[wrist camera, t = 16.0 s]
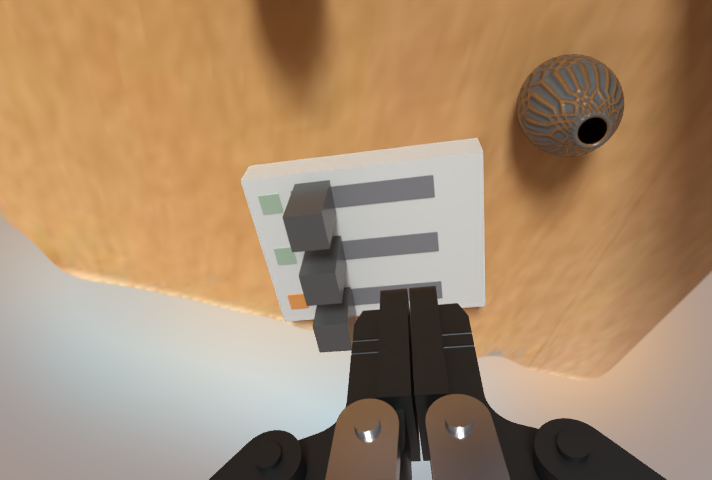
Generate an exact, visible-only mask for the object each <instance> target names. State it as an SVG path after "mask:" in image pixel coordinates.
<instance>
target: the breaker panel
mask: <svg viewBox="0 0 712 480" xmlns="http://www.w3.org/2000/svg"><path fill="white" fill-rule="evenodd" d="M241 184H242V187H243V190H244V193H245V196H246V200H247V203H248V206H249V209H250V212H251V216H252V219H253V222H254V225H255V228H256V232H257V235H258V238H259V241H260V244H261V247H262V251H263V254H264V257H265V260H266V263H267V267H268V270H269V273H270V276H271V279H272V283H273V286H274V289H275V292H276V295H277V299H278V302H279V305H280V308H281V311H282V314H283V318H284V321H285V322H286V321H299V320H312V319H314V317H315V312H316V306H317V305H326V304H338V303H342V298H343V290H344V288H346V287H351V291H352V296H353V301H354V305H355V310H356V316H360V314H361V313H362V311H366V310H378V309H380V291H381V290H391V289H403V288H407V291H408V299H409V307H410V298H409V288H414V287H425V286H436V292H437V300H438V305H440V304H453V303H458V304H459V305H460V307H461V308H468V307H481V306H485V252H484V180H483V150H482V148H481V145H480V143H479V141H478V138H471V139H463V140H455V141H447V142H439V143H430V144H422V145H414V146H406V147H398V148H390V149H382V150H373V151H365V152H357V153H349V154H341V155H333V156H325V157H317V158H308V159H300V160H292V161H284V162H276V163H268V164H260V165H251V166H249V167H248V169H247V170H246V172H245V174H244V176H243V177H242V179H241Z"/></svg>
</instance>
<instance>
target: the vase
mask: <svg viewBox="0 0 712 480" xmlns="http://www.w3.org/2000/svg"><path fill="white" fill-rule="evenodd" d="M623 111H624V95H623V91H622V87H621V85H620V82H619V80H618V78H617V77H616V75H615V74H614V73H613V72H612V70H611V69H610V68H608V67H607V66H606V65H605V64H603V63H602V62H600V61H598V60H596V59H594V58H591V57H588V56H584V55H575V54H572V55H562V56H558V57H555V58H552V59H550V60H548V61H546V62H544V63H542V64H541V65H539V66H538V67H537V68H536V69H535V70H533V71H532V73H531V74H530V75H529V76H528V77H527V79H526V80H525V82H524V83H523V85H522V87H521V90H520V93H519V96H518V101H517V116H518V120H519V123H520V126H521V128H522V130H523V132H524V134H525V135H526V137H527V138H528V139H529V140H530V141H531V142H532V143H533V144H534V145H535V146H537V147H538V148H539V149H541V150H543V151H545V152H547V153H550V154H553V155H557V156H566V157H571V156H579V155H583V154H586V153H589V152H591V151H593V150H595V149H597V148H599V147H600V146H602V145H603V144H604V143H605V142H607V141H608V140H609V139H610V138H611V136H612V135H613V134H614V133H615V131H616V130H617V128H618V126H619V124H620V122H621V119H622V116H623Z"/></svg>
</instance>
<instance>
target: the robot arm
mask: <svg viewBox="0 0 712 480" xmlns="http://www.w3.org/2000/svg"><path fill="white" fill-rule="evenodd" d="M409 298H410V307H409V299H408V291H407V288H403V289H391V290H381V291H380V309H378V310H366V311H362V313H361V314H360V316H359V318H358V319H357V321H356V322H355V324H354V331H353V343H352V355H351V363H350V374H349V385H348V396H347V404H346V408H345V409H344V410H343V411H342V412H341V414H340V415H339V417H338V419H337V422H336V423H335V424H334V425H332V426H331V427H330V428H328V429H326V430H325V431H323V432H320V433H318V434H315V435H312V436H309V437H307V438H304V439H301V440H297V439H296V438H295V437H294V436H293V435H292V434H290V433H288V432H286V431H281V430H273V431H268V432H265V433H262V434H260V435H258V436H257V437H255V438H253V439H252V440H251V441H250V442H249V443H248V444H246V445H245V446H244V447H243V448H242V449H241V450H240V451H239V452H238V453H237V454H236V455H235V456H234V457H232V459H230V460H229V461H228V462H227V463H226V464H225V465H224V466H223V467H222V468H221V469H220V470H219V471H218V472H216V474H214V475H213V476H212V477H211V478H210V479H209V480H412V471H411V461H420V443H419V432H420V439H421V446H422V454H423V460H424V461H428V460H429V461H430V463H431V471H432V479H433V480H666V479H665V478H663V477H662V476H661V475H659V474H658V473H657V472H655V471H654V470H652V469H651V468H649V467H648V466H647V465H645V464H644V463H642V462H641V461H639V460H638V459H637V458H635V457H634V456H633V455H631V454H630V453H628V452H627V451H626V450H624V449H623V448H621V447H620V446H619V445H617V444H616V443H614V442H613V441H612V440H610V439H609V438H607V437H606V436H604V435H603V434H602V433H600V432H599V431H597V430H596V429H595V428H593V427H591V426H590V425H588V424H586V423H584V422H581V421H578V420H574V419H565V418H562V419H555V420H551V421H549V422H547V423H545V424H544V425H542V426H541V427H540V429H536V428H532V427H528V426H524V425H520V424H516V423H513V422H510V421H508V420H506V419H504V418H503V417H501V416H499V415H498V414H497V413H496V412H495V411H494V410H493V409H492V408H491V407H490V406H489V404H488V403H487V401H486V399H485V396H484V392H483V387H482V382H481V377H480V372H479V367H478V362H477V357H476V352H475V347H474V342H473V337H472V332H471V327H470V322H469V317H468V315H467V314H466V313H465V311H464V310H463V309H462V308H461V307H460V305H459V304H458V303H453V304H440V305H438V300H437V292H436V286H425V287H414V288H409Z"/></svg>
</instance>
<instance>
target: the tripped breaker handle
mask: <svg viewBox="0 0 712 480" xmlns="http://www.w3.org/2000/svg"><path fill="white" fill-rule="evenodd" d="M355 318H356V310H355V305H354V301H353V296H352V291H351V287H346V288H344V290H343V298H342V303H338V304H326V305H317V306H316V312H315V317H314V322H313V329H314V333H315V337H316V340H317V344H318V348H319V351H320V352H332V351H347V350H352V343H353V331H354V324H355Z"/></svg>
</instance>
